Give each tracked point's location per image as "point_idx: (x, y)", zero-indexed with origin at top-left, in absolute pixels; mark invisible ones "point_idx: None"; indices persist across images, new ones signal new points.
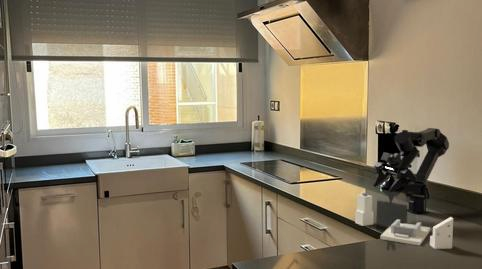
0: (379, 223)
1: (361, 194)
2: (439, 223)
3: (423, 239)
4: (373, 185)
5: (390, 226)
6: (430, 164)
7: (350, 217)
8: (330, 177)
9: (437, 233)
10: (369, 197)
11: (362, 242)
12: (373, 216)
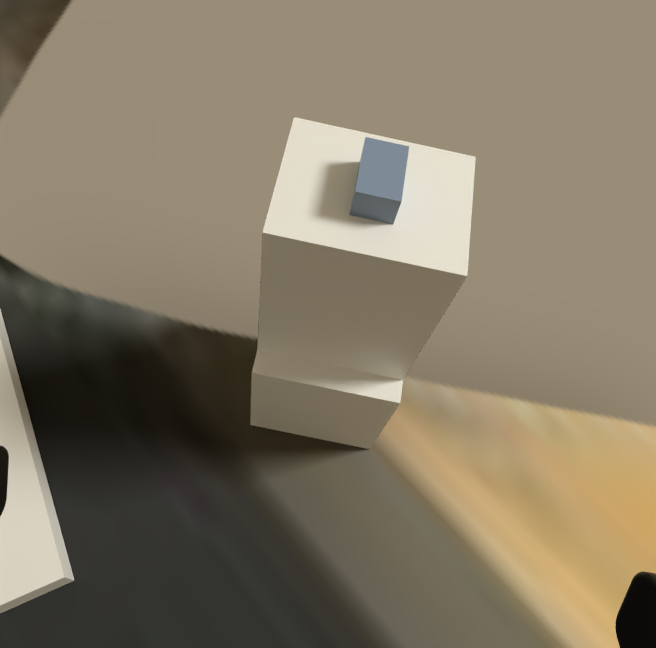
0: (229, 502)
1: (449, 199)
2: None
3: None
4: (653, 575)
5: (10, 408)
6: None
7: (542, 424)
8: None
9: None
10: (275, 195)
11: (28, 49)
12: (251, 396)
